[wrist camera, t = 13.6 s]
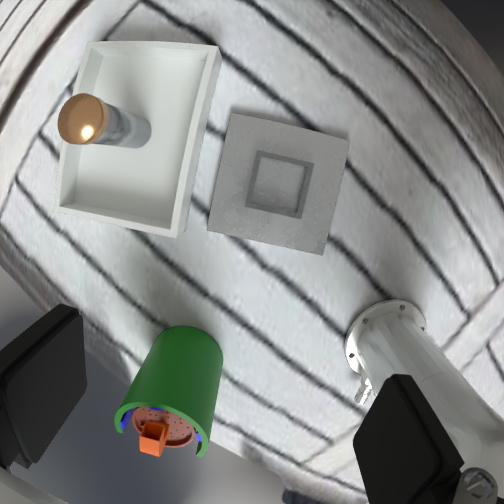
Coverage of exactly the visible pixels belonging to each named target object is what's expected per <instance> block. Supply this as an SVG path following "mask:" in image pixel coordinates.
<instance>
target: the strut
mask: <svg viewBox="0 0 504 504" xmlns="http://www.w3.org/2000/svg"><path fill="white" fill-rule="evenodd" d="M58 130H59V133H60V136H61V137H62V139H63V140H64V141H66V142H67V143H69V144H75V145H89V144H99V145H108V146H117V147H125V148H133V149H137V148H141V147H143V146H144V145H145V144H146V143H147V142H148V141H149V139H150V137H151V133H152V129H151V125H150V123H149V121H148V120H147V119H145V118H143V117H141V116H138V115H136V114H133V113H131V112H128V111H126V110H123V109H121V108H118V107H115V106H113V105H110V104H107V103H105V102H104V101H103V100H101V99H100V98H98V97H95V96H93V95H90V94H87V93H80V94H77V95H74V96H73V97H71V98H70V99H69V100H68V101H67V102H66V103H65V104H64V106H63V107H62V109H61V111H60V114H59V117H58Z"/></svg>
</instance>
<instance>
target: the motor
mask: <svg viewBox="0 0 504 504" xmlns="http://www.w3.org/2000/svg"><path fill="white" fill-rule="evenodd" d="M222 366H223V355H222V351H221V349H220V347H219V345H218V344H217V343H216V341H215V340H214V339H213V338H212V337H211V336H209V335H208V334H206V333H205V332H203V331H201V330H199V329H196V328H193V327H187V326H177V327H172V328H169V329H167V330H165V331H163V332H162V333H161V334H160V335H159V336H158V337H157V339H156V341H155V342H154V344H153V346H152V348H151V350H150V351H149V353H148V355H147V357H146V359H145V361H144V362H143V364H142V366H141V368H140V370H139V372H138V373H137V375H136V377H135V379H134V381H133V383H132V385H131V386H130V388H129V390H128V392H127V394H126V396H125V398H124V400H123V401H122V403H121V405H120V407H119V409H118V411H117V413H116V415H115V427H116V429H117V432H120V433H123V432H124V430H125V427H126V426H127V424H128V421H129V419H130V417H131V415H132V413H133V411H134V408H136V409H135V411H134V413H133V416H132V422H133V425H134V427H135V429H136V430H137V431H138V432H139V434H140V451H141V452H145V453H148V454H152V455H155V456H160V455H161V453H162V451H163V448H164V447H170V448H177V447H183V446H186V445H188V444H190V443H191V442H192V441H193V439H194V436H195V432H196V430H197V432H196V435H197V441H199V443H198V447H197V452H196V455H197V456H199V457H202V456H204V454H205V453H206V451H207V449H208V445H209V439H210V433H211V428H212V422H213V416H214V411H215V405H216V399H217V394H218V388H219V383H220V377H221V371H222Z"/></svg>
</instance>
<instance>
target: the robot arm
mask: <svg viewBox="0 0 504 504" xmlns="http://www.w3.org/2000/svg"><path fill="white" fill-rule="evenodd" d="M364 318H365V319H364ZM344 350H345V356H346V359H347V361H348V363H349V365H350V367H351V368H352V369H353V370H354V371H355V372H356V373H358V374H359V375H361V376H362V379H361V384H362V385H361V387H360V388H359V390H358V392H357V394H356V396H355V398H354V399H355V401H356V402H357V403H359V404H364V403H366V401H367V399H368V397H369V395H370V392H371V390H372V389H373V391H374V395H375V396H376V399H375V400H374V402H373V404H372V406H371V408H370V410H369V411H368V413H367V415H366V417H365V419H364V420H363V422H362V424H361V426H360V427H359V429H358V431H357V432H356V434H355V436H354V439H353V447H354V451H355V454H356V458H357V461H358V465H359V468H360V472H361V475H362V479H363V483H364V486H365V490H366V494H367V497H368V501H369V502H367V503H366V504H504V419H503V418H502V417H501V416H500V415H498V414H497V413H496V412H495V411H494V410H493V409H492V408H491V407H490V406H489V405H488V404H487V403H486V402H485V401H484V400H483V399H482V398H481V396H480V395H479V394H478V393H477V392H476V391H475V390H474V389H473V388H472V386H471V385H470V384H469V383H468V382H467V380H466V379H465V378H464V377H463V376H462V375H461V373H460V372H459V371H458V370H457V369H456V368H455V366H454V365H453V364H452V363H451V362H450V361H449V359H448V358H447V357H446V356H445V355H444V354H443V353H442V351H441V350H440V349H439V348H438V347H437V346H436V345H435V344H434V342H433V341H432V340H431V339H430V338H429V337H428V336H427V335H426V323H425V319H424V317H423V315H422V313H421V312H420V311H419V310H418V308H416V307H415V306H414V305H413V304H411V303H409V302H407V301H404V300H400V299H391V300H385V301H382V302H379V303H376V304H374V305H373V306H371V307H369V308H367V309H366V310H365V311H364V312H362V313H361V314H360V315H359V316H358V317H357V318H356V319H355V321H354V322H353V324H352V325H351V326H350V328H349V331H348V333H347V335H346V339H345V346H344ZM84 354H85V353H84V334H83V317H82V316H81V315H79V312H78V310H77V309H76V308H73V307H70V306H67V305H64V304H59V305H57V306H56V307H55V308H53V309H52V310H51V311H49V312H48V313H47V314H45V315H44V316H43V317H42V318H40V319H39V320H38V321H36V322H35V323H34V324H33V325H31V326H30V327H29V328H28V329H26V330H25V331H24V332H23V333H21V334H20V335H19V336H18V337H16V339H14V340H13V341H12V342H10V343H9V344H8V345H7V346H5V347H4V348H3V349H2V350H1V351H0V504H68V503H66V502H64V501H62V500H60V499H58V498H55V497H54V496H52V495H50V494H48V493H46V492H44V491H42V490H40V489H38V488H36V487H34V486H32V485H30V484H29V483H27V482H25V481H23V480H22V479H20V478H18V477H16V476H15V475H13V474H11V470H10V465H11V464H12V462H13V461H15V462H17V463H18V464H20V465H22V466H23V467H25V468H27V469H28V468H29V467H30V465H31V464H32V462H33V463H37V462H38V461H39V460H40V457H41V456H42V455H43V453H44V452H45V450H46V449H47V447H48V446H49V444H50V443H51V441H52V440H53V438H54V437H55V435H56V434H57V432H58V430H59V429H60V428H61V426H62V425H63V423H64V422H65V420H66V419H67V417H68V416H69V414H70V413H71V412H72V410H73V409H74V407H75V406H76V404H77V403H78V402H79V400H80V398H81V397H82V396H83V394H84V393H85V391H86V387H87V378H86V368H85V355H84Z"/></svg>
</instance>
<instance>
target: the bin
mask: <svg viewBox="0 0 504 504" xmlns="http://www.w3.org/2000/svg"><path fill="white" fill-rule="evenodd" d="M222 60H223V59H222V56H221V54H220V51H219V48H218V46H211V45H202V44H191V43H179V42H162V41H100V42H88V43H87V46H86V49H85V52H84V55H83V59H82V62H81V65H80V69H79V72H78V76H77V79H76V83H75V87H74V91H73V95H72V97H73V96H74V95H77V94H80V93H87V94H90V95H93V96H95V97H98V98H100V99H101V100H103V101H104V102H105V103H107V104H110V105H113V106H115V107H118V108H121V109H123V110H126V111H128V112H131V113H133V114H136V115H138V116H141V117H143V118H145V119H147V120H148V121H149V123H150V125H151V129H152V133H151V137H150V139H149V141H148V142H147V143H146V144H145V145H144V146H143V147H141V148H137V149H133V148H125V147H117V146H108V145H99V144H89V145H75V144H69V143H67V142H66V141H64V140H63V142H62V148H61V154H60V160H59V167H58V175H57V183H56V192H55V202H54V212H57V213H62V214H66V215H71V216H75V217H80V218H85V219H89V220H94V221H98V222H103V223H107V224H112V225H117V226H121V227H126V228H130V229H135V230H139V231H144V232H149V233H153V234H158V235H162V236H167V237H172V238H177V237H178V236H180V235H181V234H182V233H183V232H184V231H185V230H186V224H187V219H188V213H189V207H190V202H191V197H192V191H193V186H194V181H195V176H196V171H197V166H198V161H199V156H200V152H201V147H202V142H203V138H204V133H205V129H206V124H207V120H208V116H209V111H210V107H211V103H212V99H213V95H214V91H215V87H216V83H217V79H218V75H219V71H220V67H221V63H222Z"/></svg>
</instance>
